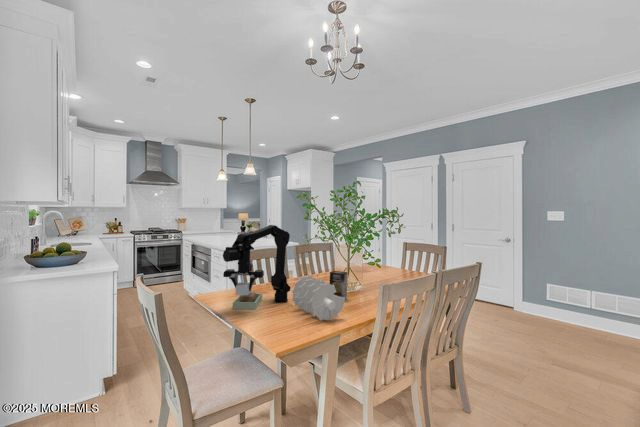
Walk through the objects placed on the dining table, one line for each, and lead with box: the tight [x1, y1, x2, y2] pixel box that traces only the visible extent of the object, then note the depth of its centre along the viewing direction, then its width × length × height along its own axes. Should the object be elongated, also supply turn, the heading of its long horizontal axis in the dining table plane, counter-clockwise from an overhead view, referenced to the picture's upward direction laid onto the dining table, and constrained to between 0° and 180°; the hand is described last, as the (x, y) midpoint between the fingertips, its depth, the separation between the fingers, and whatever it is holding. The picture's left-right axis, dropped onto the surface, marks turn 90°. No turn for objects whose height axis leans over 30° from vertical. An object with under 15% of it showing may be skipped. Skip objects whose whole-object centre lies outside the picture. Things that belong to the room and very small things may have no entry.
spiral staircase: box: [291, 274, 346, 322], centre depth 149 cm, size 18×18×25 cm
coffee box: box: [329, 270, 348, 301], centre depth 174 cm, size 9×6×16 cm
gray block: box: [235, 282, 252, 296], centre depth 148 cm, size 6×6×4 cm
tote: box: [232, 292, 263, 311], centre depth 162 cm, size 12×17×4 cm
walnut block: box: [238, 292, 257, 302], centre depth 159 cm, size 7×7×6 cm
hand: (243, 290), depth 149 cm, fingers closed on gray block, 6 cm apart
